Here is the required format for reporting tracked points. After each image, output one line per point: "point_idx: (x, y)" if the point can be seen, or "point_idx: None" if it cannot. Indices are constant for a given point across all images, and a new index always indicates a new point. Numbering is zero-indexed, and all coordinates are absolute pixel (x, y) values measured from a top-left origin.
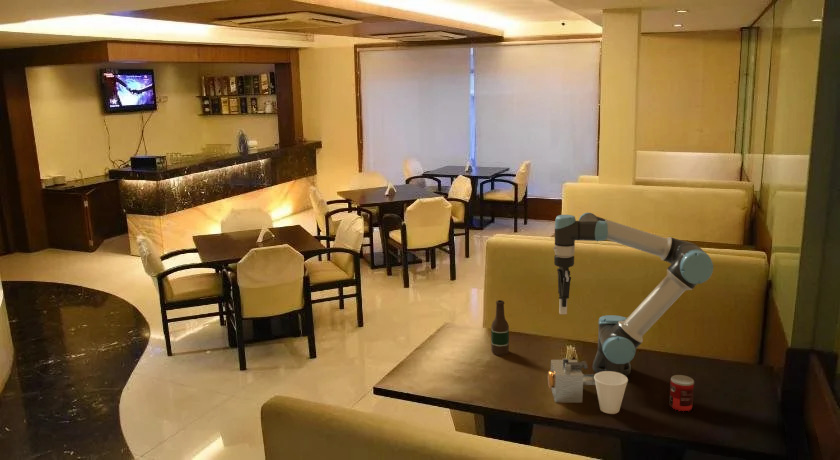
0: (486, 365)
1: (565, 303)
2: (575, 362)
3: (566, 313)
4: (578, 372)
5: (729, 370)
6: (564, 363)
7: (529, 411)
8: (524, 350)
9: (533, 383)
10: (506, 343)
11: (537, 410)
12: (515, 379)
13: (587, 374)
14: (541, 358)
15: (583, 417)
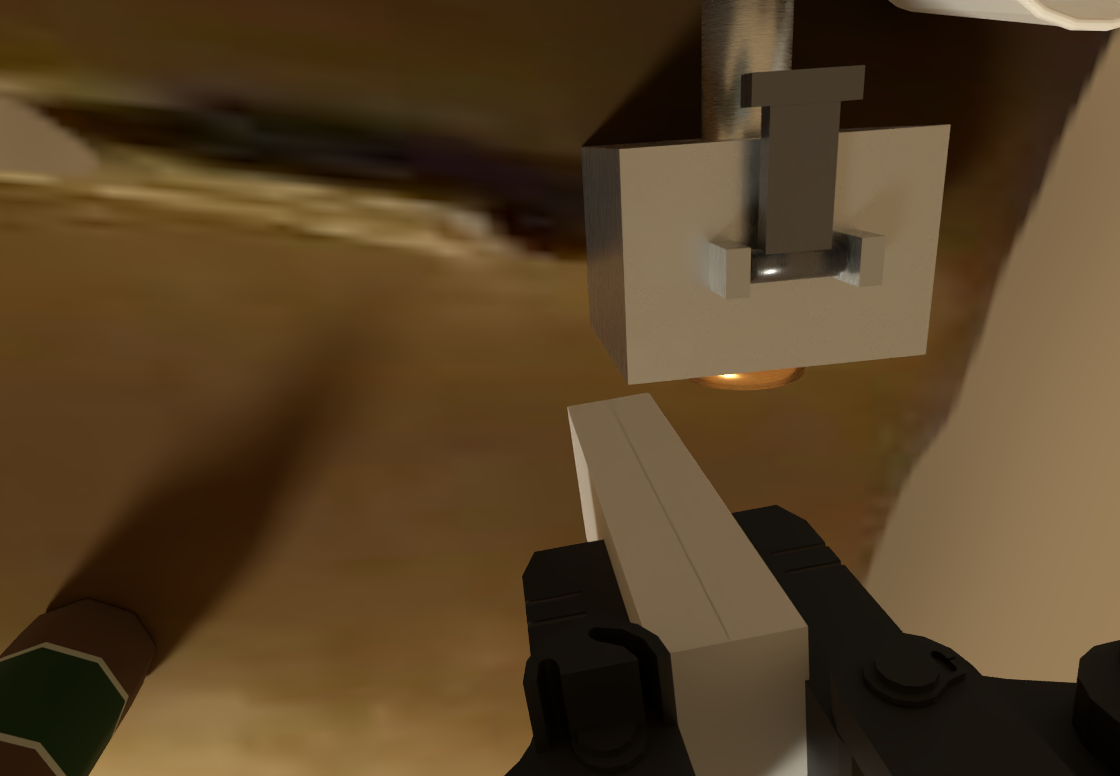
0: (336, 696)
1: (842, 581)
2: (773, 178)
3: (650, 407)
4: (892, 161)
5: None
6: (772, 281)
7: (911, 444)
8: (3, 496)
9: (564, 428)
10: (81, 663)
11: (904, 404)
12: (517, 531)
13: (756, 64)
14: (128, 376)
15: (1010, 143)
